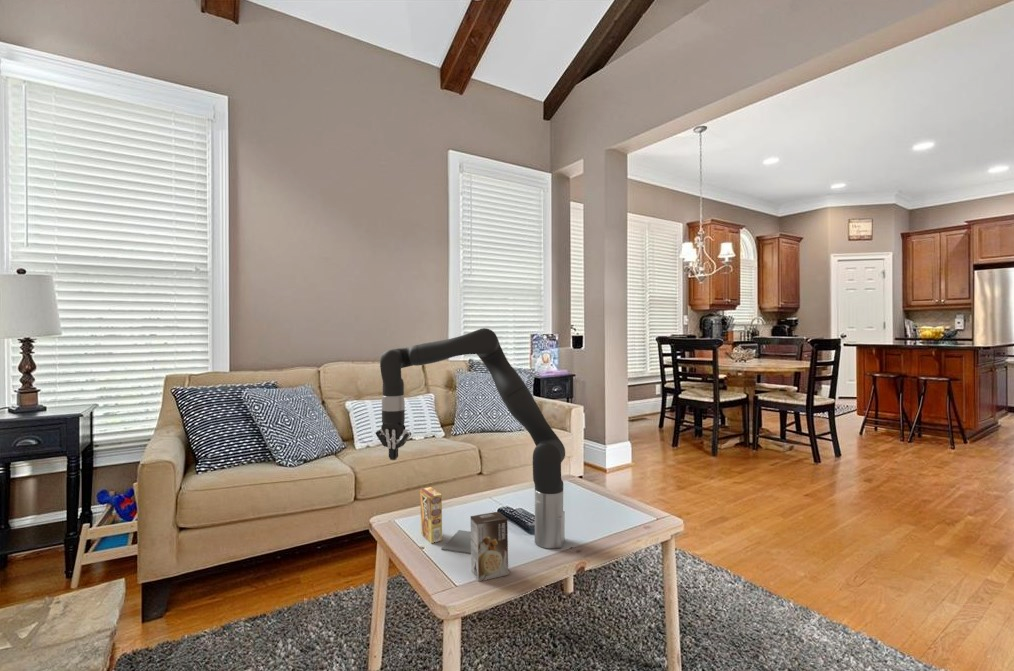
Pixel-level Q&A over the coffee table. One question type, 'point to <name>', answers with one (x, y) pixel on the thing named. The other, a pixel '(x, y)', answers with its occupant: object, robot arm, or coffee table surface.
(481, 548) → the coffee box
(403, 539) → the coffee table surface
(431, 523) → the candy box
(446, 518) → the coffee table surface
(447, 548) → the mat
